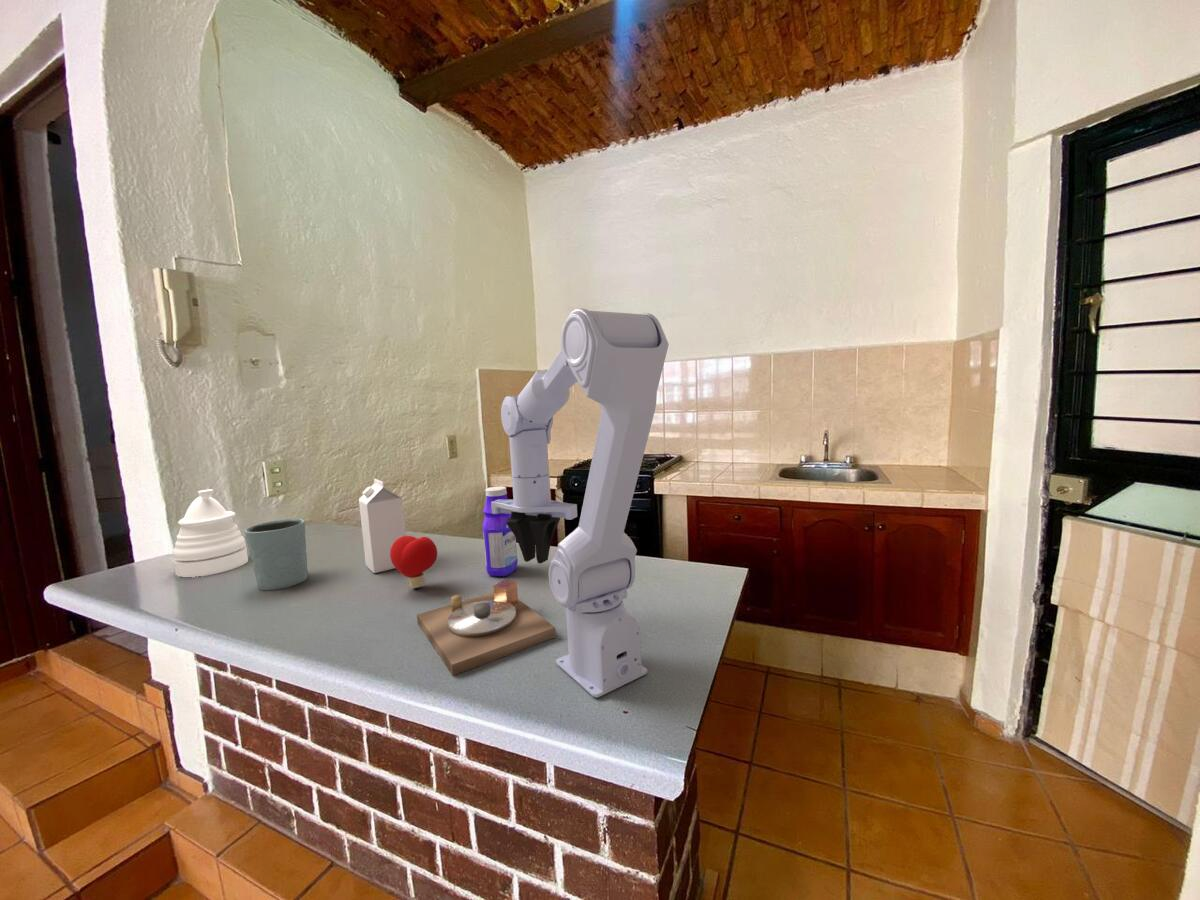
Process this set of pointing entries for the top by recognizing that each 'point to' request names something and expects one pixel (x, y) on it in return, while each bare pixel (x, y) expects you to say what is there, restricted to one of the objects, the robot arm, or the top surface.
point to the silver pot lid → (496, 621)
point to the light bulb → (413, 558)
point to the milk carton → (380, 525)
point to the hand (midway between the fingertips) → (536, 560)
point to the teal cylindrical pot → (278, 553)
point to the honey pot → (208, 539)
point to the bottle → (498, 537)
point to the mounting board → (482, 649)
